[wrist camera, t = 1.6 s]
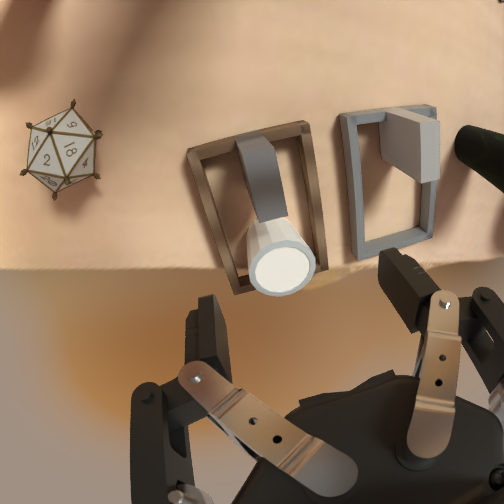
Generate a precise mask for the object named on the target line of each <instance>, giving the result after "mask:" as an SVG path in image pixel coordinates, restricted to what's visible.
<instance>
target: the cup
mask: <svg viewBox="0 0 504 504" xmlns="http://www.w3.org/2000/svg"><path fill="white" fill-rule="evenodd" d="M455 153H456V156H457V158H458V159H459V160H460V161H462V162H463V163H464V164H466V165H467V166H469V167H470V168H472V169H473V170H474V171H476V172H477V173H478V174H480V175H481V176H482V177H484V178H485V179H486V180H488V181H489V182H490V183H492V184H493V185H494V186H495V187H497V188H498V189H499V190H501V191H502V192H503V193H504V134H500V133H497V132H493V131H490V130H486V129H482V128H479V127H475V126H471V125H466V126H463V127H462V128H461V129H460V130H459V132H458V134H457V136H456V139H455Z"/></svg>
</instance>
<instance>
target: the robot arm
mask: <svg viewBox="0 0 504 504" xmlns="http://www.w3.org/2000/svg"><path fill="white" fill-rule="evenodd" d="M378 281H379V284H380V286H381V288H382V290H383V291H384V293H385V294H386V295H387V297H388V298H389V300H390V301H391V303H392V304H393V306H394V308H395V309H396V311H397V312H398V314H399V315H400V317H401V318H402V320H403V321H404V323H405V324H406V326H407V328H408V329H409V330H410V332H411V334H412V333H415V332H417V331H420V333H421V338H420V342H419V349H418V353H417V358H416V363H415V368H414V372H413V375H412V376H408V375H395V373H394V371H393V370H390V371H387V372H385V373H382V374H379V375H377V376H374V377H371V378H370V379H368V380H367V381H365V382H363V383H362V384H360V385H359V386H357V387H356V388H354V389H352V390H351V391H345V392H334V393H322V394H319V395H316V396H312V397H308V398H305V399H301V400H299V404H300V407H298V408H296V409H294V410H293V411H291V412H290V413H289V414H288V415H286V416H285V417H284V418H283V417H282V416H281V415H279V414H278V413H276V412H275V411H273V410H272V409H270V408H269V407H268V406H266V405H265V404H264V403H262V402H261V401H260V400H258V399H257V398H256V397H254V396H253V395H252V394H250V393H249V392H248V391H246V390H244V389H238V388H236V387H235V386H234V385H233V383H232V375H231V367H230V357H229V348H228V338H227V329H226V324H225V320H224V317H223V314H222V312H221V309H220V306H219V304H218V301H217V299H216V296H215V295H214V294H212V295H207V296H203V297H199V298H198V309H197V310H192V311H190V313H189V315H188V317H187V319H186V331H185V336H186V338H185V365H184V366H183V367H182V369H181V370H180V372H179V374H178V377H176V378H175V379H173V380H172V381H170V382H167V383H165V384H163V385H161V386H158V385H157V384H155V383H153V382H147V383H143V384H141V385H139V386H138V387H137V388H136V389H135V390H134V392H133V394H132V398H131V421H130V480H131V501H132V504H214V503H213V500H212V498H211V497H210V496H209V494H207V493H206V492H204V491H202V490H200V489H198V488H196V487H195V483H194V476H193V468H192V460H191V452H190V442H189V433H188V425H189V424H191V423H193V422H196V421H198V420H200V419H202V418H204V417H207V418H208V419H209V420H210V421H211V422H212V423H213V424H214V425H216V426H217V427H218V428H219V429H220V430H221V431H222V432H223V433H224V434H225V435H227V436H228V437H229V438H230V439H231V440H232V441H233V442H234V443H235V444H236V445H237V446H238V447H239V448H240V449H242V450H243V451H244V452H245V453H246V454H248V455H249V456H250V457H251V458H252V459H253V460H255V461H256V462H257V463H256V465H255V466H254V468H253V470H252V471H251V473H250V475H249V476H248V478H247V480H246V481H245V483H244V484H243V486H242V487H241V489H240V491H239V492H238V494H237V495H236V497H235V499H234V500H233V502H232V503H231V504H504V303H503V302H502V301H501V299H500V298H499V297H498V296H497V294H496V293H495V292H494V291H493V290H491V289H489V288H487V287H479V288H476V289H475V290H474V292H473V295H472V297H462V298H457V296H456V295H455V294H453V293H452V292H449V291H446V290H441V289H440V288H439V287H438V286H437V285H436V283H435V282H434V281H433V280H432V279H431V278H430V276H429V275H428V274H427V273H426V272H425V271H424V269H423V268H422V267H420V265H419V264H418V263H417V262H416V260H415V259H413V258H411V257H410V256H408V255H406V254H405V255H402V254H401V253H400V252H399V251H398V250H397V249H396V248H395V247H392V248H389V249H385V250H382V251H380V252H379V264H378ZM486 330H487V331H488V333H489V334H490V336H491V337H492V339H493V341H494V343H493V341H492V340H491V338H490V337H489V335H488V333H487V332H486ZM461 343H462V345H463V347H464V348H465V350H466V352H467V353H468V355H469V357H470V359H471V360H472V362H473V363H474V366H475V367H476V369H477V371H478V373H479V374H480V376H481V378H482V380H483V382H484V384H485V386H486V387H487V389H488V391H489V393H490V396H489V410H487V409H485V408H482V407H480V406H478V405H476V404H473V403H471V402H469V401H467V400H465V399H462V398H460V397H458V396H456V389H457V381H458V373H459V363H460V351H461Z"/></svg>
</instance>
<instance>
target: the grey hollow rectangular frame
mask: <svg viewBox="0 0 504 504" xmlns="http://www.w3.org/2000/svg"><path fill="white" fill-rule="evenodd" d="M339 119H340V126H341V133H342V141H343V149H344V157H345V166H346V176H347V187H348V198H349V212H350V227H351V247H352V253H353V255H354V256H355V258H356V259H357V261H359V260H363V259H366V258H369V257H373V256H376V255H379V252H380V251H382V250H385V249H389V248H392V247H395V248H396V249H398V248H402V247H405V246H408V245H411V244H414V243H417V242H420V241H424V240H427V239H430V238H432V235H433V226H434V215H435V203H436V187H437V180H439V178H440V121H438V120H437V113H436V107H433V106H430V105H412V106H400V107H390V108H380V109H372V110H364V111H356V112H349V113H343V114H339ZM373 122H378V123H379V134H380V146H381V159H383V160H385V161H386V162H388V163H390V164H391V165H393V166H394V167H396V168H398V169H399V170H401V171H402V172H404V173H406V174H407V175H409V176H410V177H412V178H413V179H415V180H416V181H418V182H419V183H422V197H421V215H420V226H419V227H416V228H412V229H409V230H405V231H402V232H399V233H395V234H392V235H388V236H385V237H382V238H378V239H375V240H371V241H368V242H365V236H364V207H363V189H362V175H361V162H360V152H359V142H358V133H357V125H359V124H366V123H373Z"/></svg>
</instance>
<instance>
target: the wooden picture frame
mask: <svg viewBox="0 0 504 504" xmlns="http://www.w3.org/2000/svg"><path fill="white" fill-rule="evenodd" d="M294 136H297V141H298V146H299V152H300V157H301V163H302V169H303V175H304V181H305V187H306V193H307V200H308V206H309V213H310V220H311V227H312V234H313V242H314V249H315V263H316V269H315V271H314V274H315V273H318V272H322V271H325V270H329V269H328V258H327V247H326V238H325V229H324V220H323V212H322V204H321V196H320V189H319V181H318V174H317V168H316V161H315V155H314V148H313V142H312V136H311V131H310V125H309V123H308V122H306V121H304V120H302V121H297V122H292V123H287V124H282V125H277V126H273V127H268V128H264V129H260V130H255V131H251V132H247V133H243V134H239V135H235V136H231V137H228V138H224V139H220V140H217V141H213V142H209V143H206V144H203V145H199V146H196V147H192V148H189V149H188V150H187V157H188V160H189V163H190V166H191V169H192V173H193V176H194V179H195V182H196V185H197V188H198V191H199V194H200V197H201V200H202V203H203V206H204V209H205V212H206V215H207V218H208V221H209V224H210V227H211V230H212V233H213V236H214V239H215V242H216V245H217V248H218V250H219V253H220V256H221V259H222V262H223V265H224V268H225V270H226V273H227V276H228V279H229V281H230V285H231V287H232V290H233V293H234V295H237V294H241V293H245V292H248V291H253V290H256V288H255V287H254V286H253V285H252V283H251V282H250V277H249V274H248V275H245V276H241V277H238V274H237V271H236V268H235V265H234V262H233V259H232V255H231V252H230V249H229V246H228V243H227V240H226V237H225V234H224V231H223V227H222V224H221V221H220V218H219V215H218V212H217V208H216V205H215V202H214V199H213V196H212V192H211V189H210V186H209V183H208V179H207V176H206V173H205V170H204V166H203V163H202V159H206V158H209V157H213V156H216V155H220V154H223V153H227V152H231V151H235V150H238V154H239V158H240V162H241V166H242V170H243V174H244V178H245V181H246V185H247V189H248V192H249V195H250V198H251V201H252V204H253V207H254V210H255V212H256V215H257V218H258V221H259V223H262V222H266V221H270V220H274V219H278V218H281V217H285V216H288V213H287V207H286V202H285V197H284V192H283V187H282V182H281V177H280V172H279V167H278V162H277V157H276V153H275V148H274V147H273V146H272V144H271V143H270V142H271V141H275V140H280V139H284V138H289V137H294Z"/></svg>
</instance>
